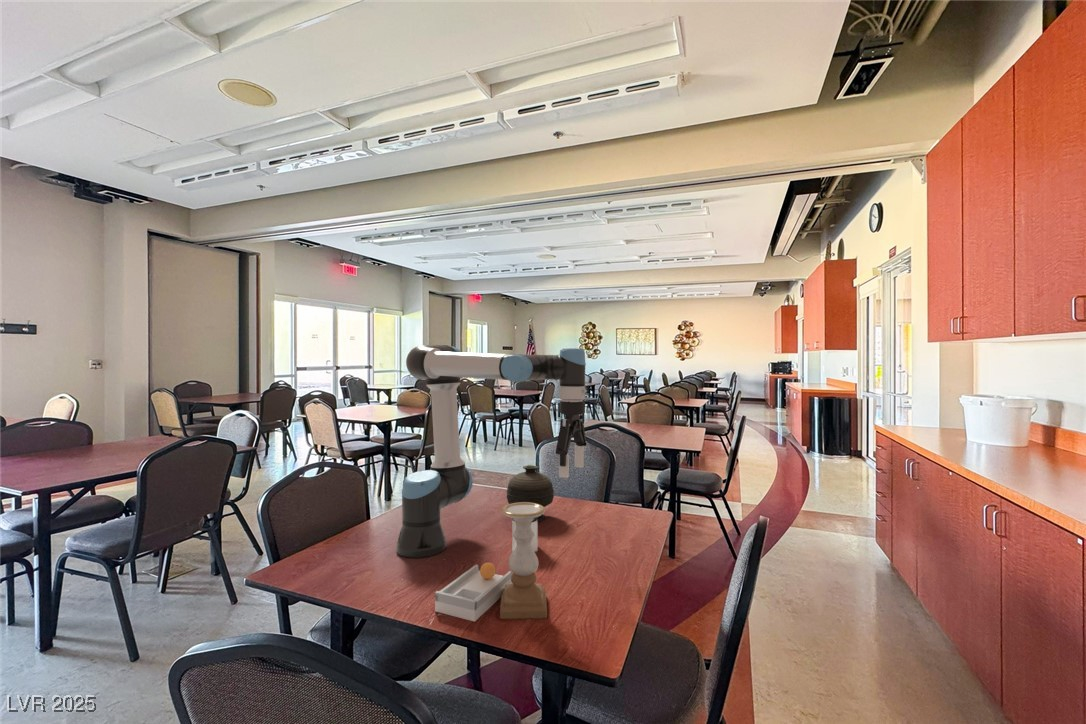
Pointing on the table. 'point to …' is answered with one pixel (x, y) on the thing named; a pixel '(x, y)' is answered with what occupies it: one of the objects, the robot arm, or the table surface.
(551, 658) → the table surface
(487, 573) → the ball
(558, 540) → the table surface
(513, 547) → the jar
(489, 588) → the tray
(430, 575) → the table surface
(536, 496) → the pot
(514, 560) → the candle holder
